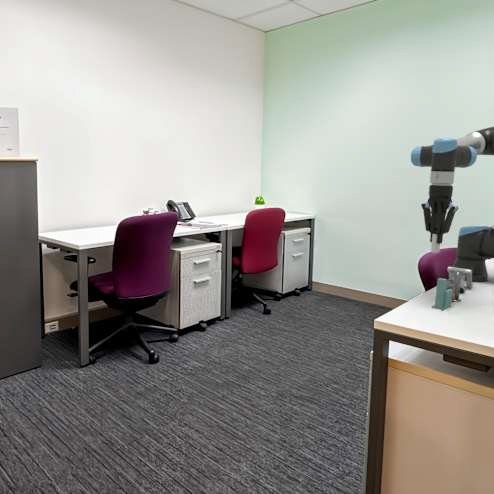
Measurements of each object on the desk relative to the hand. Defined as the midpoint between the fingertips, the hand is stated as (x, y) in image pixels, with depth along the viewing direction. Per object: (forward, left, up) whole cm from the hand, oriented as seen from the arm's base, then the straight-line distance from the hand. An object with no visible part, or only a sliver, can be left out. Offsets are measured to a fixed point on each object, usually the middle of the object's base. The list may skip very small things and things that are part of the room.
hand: (435, 252), depth 166 cm
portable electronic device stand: (-29, 0, -18) cm, 34 cm away
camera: (-21, 0, -18) cm, 28 cm away
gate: (+1, +6, -17) cm, 18 cm away
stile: (+6, +6, -18) cm, 19 cm away
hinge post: (-7, +6, -17) cm, 20 cm away
